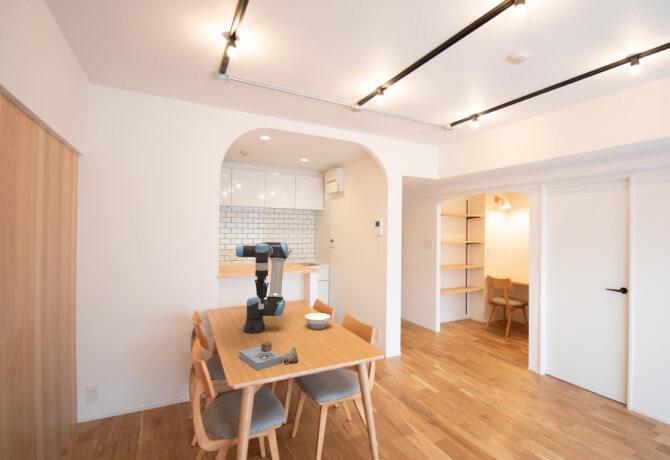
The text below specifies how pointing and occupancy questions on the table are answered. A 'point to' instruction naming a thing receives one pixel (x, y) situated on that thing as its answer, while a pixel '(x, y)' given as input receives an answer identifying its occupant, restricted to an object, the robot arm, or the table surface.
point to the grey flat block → (259, 358)
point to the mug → (289, 356)
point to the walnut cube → (266, 347)
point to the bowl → (317, 320)
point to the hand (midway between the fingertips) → (261, 308)
